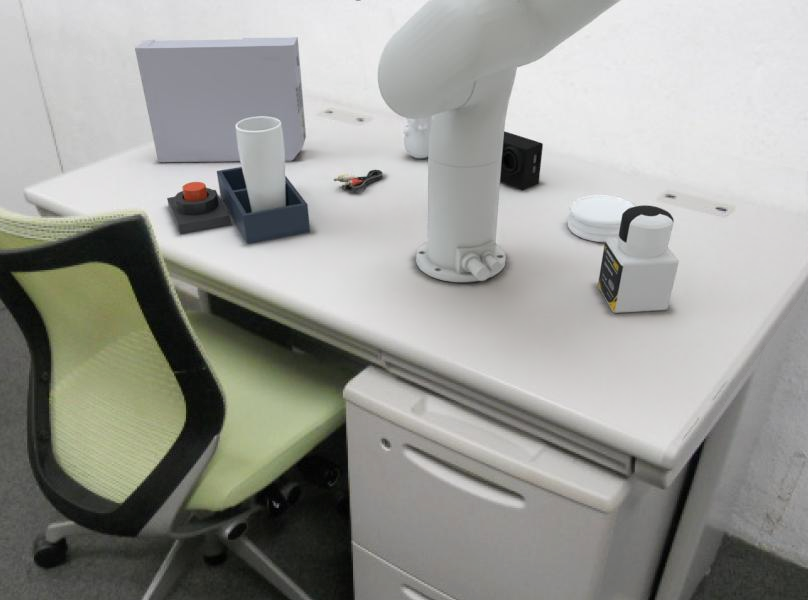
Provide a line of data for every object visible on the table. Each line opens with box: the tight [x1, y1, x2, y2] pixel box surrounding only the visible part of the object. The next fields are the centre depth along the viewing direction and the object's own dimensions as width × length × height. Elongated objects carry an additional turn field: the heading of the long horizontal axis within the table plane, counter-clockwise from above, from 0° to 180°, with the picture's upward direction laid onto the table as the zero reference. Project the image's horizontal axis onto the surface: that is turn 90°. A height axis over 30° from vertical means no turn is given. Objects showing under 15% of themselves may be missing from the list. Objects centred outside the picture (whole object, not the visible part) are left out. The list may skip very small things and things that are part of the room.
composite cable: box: [333, 169, 383, 193], centre depth 132 cm, size 10×5×2 cm, turn 130°
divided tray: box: [216, 166, 311, 245], centre depth 123 cm, size 19×10×5 cm, turn 21°
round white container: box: [567, 194, 636, 243], centre depth 116 cm, size 10×10×4 cm
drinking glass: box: [235, 116, 286, 212], centre depth 116 cm, size 7×7×15 cm
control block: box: [166, 187, 232, 235], centre depth 124 cm, size 11×8×4 cm
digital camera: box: [500, 130, 544, 191], centre depth 131 cm, size 10×5×7 cm, turn 42°
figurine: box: [402, 115, 435, 159], centre depth 139 cm, size 7×7×12 cm
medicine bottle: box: [597, 204, 679, 314], centre depth 98 cm, size 7×7×12 cm
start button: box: [181, 181, 207, 201], centre depth 122 cm, size 4×4×2 cm
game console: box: [134, 36, 307, 163], centre depth 139 cm, size 6×27×20 cm, turn 88°
